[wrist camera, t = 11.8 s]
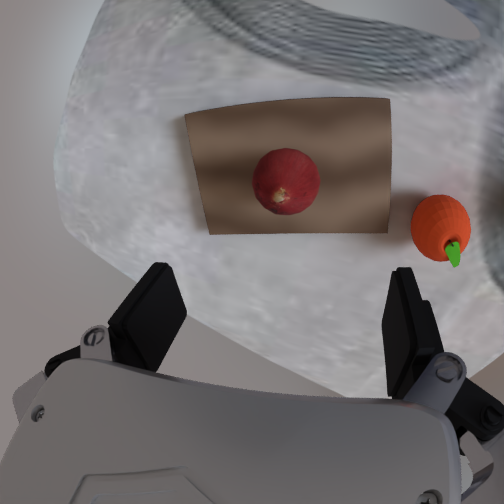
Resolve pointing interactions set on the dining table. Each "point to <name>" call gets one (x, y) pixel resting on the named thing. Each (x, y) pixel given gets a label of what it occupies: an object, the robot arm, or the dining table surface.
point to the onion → (286, 181)
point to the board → (310, 143)
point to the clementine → (441, 228)
